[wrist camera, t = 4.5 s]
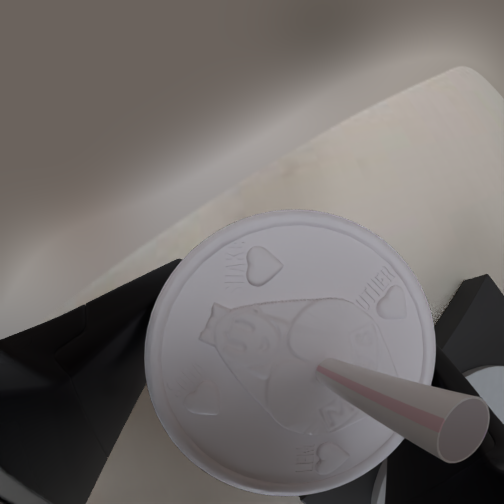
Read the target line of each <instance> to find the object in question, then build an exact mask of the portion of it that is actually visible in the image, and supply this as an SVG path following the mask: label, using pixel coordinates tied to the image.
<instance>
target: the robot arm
mask: <svg viewBox="0 0 504 504" xmlns="http://www.w3.org/2000/svg"><path fill="white" fill-rule="evenodd" d="M181 261H182V259H176V260H174V261H172V262H170V263H168V264H166V265H164V266H162V267H160V268H157V269H155V270H153V271H151V272H149V273H147V274H145V275H143V276H141V277H139V278H137V279H135V280H133V281H131V282H129V283H126V284H124V285H122V286H120V287H118V288H116V289H114V290H112V291H110V292H108V293H106V294H104V295H102V296H100V297H98V298H96V299H94V300H92V301H90V302H88V303H86V305H82V306H80V307H78V308H76V309H74V310H72V311H70V312H67V313H65V314H63V315H61V316H59V317H57V318H54V319H52V320H50V321H47V322H45V323H42V324H40V325H37V326H35V327H32V328H30V329H27V330H25V331H22V332H19V333H17V334H14V335H12V336H9V337H7V338H5V339H1V340H0V504H86V502H87V500H88V498H89V496H90V494H91V492H92V489H93V487H94V485H95V483H96V481H97V479H98V477H99V475H100V473H101V471H102V469H103V467H104V465H105V463H106V461H107V457H109V455H110V453H111V451H112V449H113V447H114V445H115V443H116V441H117V439H118V437H119V435H120V433H121V431H122V429H123V427H124V425H125V423H126V421H127V419H128V417H129V415H130V413H131V411H132V409H133V408H134V406H135V404H136V402H137V400H138V398H139V396H140V394H141V392H142V390H143V388H144V386H145V385H146V383H147V381H146V375H145V361H144V354H145V340H146V334H147V328H148V324H149V320H150V317H151V313H152V310H153V308H154V305H155V303H156V300H157V298H158V296H159V294H160V292H161V290H162V288H163V286H164V284H165V283H166V281H167V280H168V278H169V277H170V275H171V273H172V272H173V271H174V270H175V268H176V267H177V266H178V264H179V263H180V262H181ZM431 386H433V387H437V388H441V389H446V390H450V391H454V392H458V393H463V394H467V395H472V396H477V397H480V395H479V394H478V392H477V391H476V390H475V389H474V387H473V386H472V385H471V384H470V383H469V381H468V380H467V379H466V378H465V377H464V375H463V374H462V373H461V372H460V371H459V369H458V368H457V367H456V366H455V365H454V363H453V362H452V361H451V360H450V359H449V358H448V356H447V355H446V354H445V353H444V352H443V351H442V349H441V348H440V347H439V346H438V345H437V344H436V356H435V367H434V374H433V379H432V383H431ZM480 398H482V397H480ZM482 399H483V398H482ZM488 408H489V414H490V420H489V426H488V430H487V433H486V435H485V437H484V439H483V441H482V443H481V444H480V446H479V447H478V448H477V449H476V451H475V452H474V453H473V454H472V455H470V456H469V457H468V458H466V459H465V460H463V461H461V462H457V463H447V462H445V461H443V460H441V459H439V458H438V457H436V456H434V455H433V454H431V453H429V452H427V451H426V450H424V449H422V448H421V447H419V446H417V445H416V444H414V443H412V442H411V441H409V440H407V439H406V438H404V439H403V441H402V442H401V443H400V444H399V445H398V447H397V448H396V449H395V450H394V451H393V452H392V453H391V454H390V455H389V456H388V457H387V473H386V492H385V504H504V424H503V423H502V422H501V421H500V419H499V418H498V417H497V416H496V415H495V413H494V412H493V411H492V410H491V409H490V407H489V406H488Z"/></svg>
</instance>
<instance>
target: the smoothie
mask: <svg viewBox="0 0 504 504" xmlns="http://www.w3.org/2000/svg"><path fill="white" fill-rule="evenodd" d="M435 356H436V341H435V330H434V323H433V319H432V314H431V310H430V307H429V304H428V301H427V298H426V296H425V293H424V291H423V289H422V287H421V285H420V283H419V281H418V279H417V278H416V276H415V274H414V273H413V271H412V270H411V268H410V267H409V266H408V264H407V263H406V262H405V260H404V259H403V258H402V257H401V256H400V255H399V254H398V252H397V251H395V250H394V249H393V248H392V247H391V246H390V245H389V244H388V243H387V242H386V241H384V240H383V239H382V238H380V237H379V236H378V235H376V234H375V233H373V232H372V231H370V230H369V229H367V228H365V227H363V226H361V225H359V224H357V223H355V222H353V221H351V220H348V219H346V218H343V217H340V216H337V215H333V214H330V213H325V212H320V211H314V210H302V209H289V210H277V211H270V212H265V213H260V214H256V215H253V216H250V217H247V218H244V219H241V220H239V221H236V222H234V223H232V224H229V225H227V226H226V227H224V228H222V229H220V230H218V231H217V232H215V233H213V234H212V235H211V236H209V237H208V238H206V239H205V240H203V241H202V242H201V243H200V244H199V245H197V246H196V247H195V248H194V249H193V250H191V251H190V253H189V254H188V255H187V256H186V257H185V258H184V259H183V260H182V261H181V262H180V263H179V264H178V266H177V267H176V268H175V270H174V271H173V272H172V273H171V275H170V277H169V278H168V280H167V281H166V283H165V284H164V286H163V288H162V290H161V292H160V294H159V296H158V298H157V300H156V303H155V305H154V308H153V310H152V313H151V317H150V320H149V324H148V328H147V334H146V340H145V354H144V361H145V375H146V381H147V387H148V391H149V395H150V398H151V402H152V404H153V407H154V409H155V412H156V414H157V416H158V418H159V420H160V422H161V424H162V426H163V428H164V429H165V431H166V433H167V434H168V436H169V437H170V439H171V440H172V441H173V442H174V444H175V445H176V446H177V447H178V448H179V450H180V451H181V452H182V453H183V454H184V455H185V456H186V457H187V458H188V459H189V460H190V461H191V462H193V463H194V464H195V465H196V466H198V467H199V468H200V469H202V470H203V471H204V472H206V473H208V474H209V475H211V476H212V477H214V478H216V479H218V480H220V481H222V482H224V483H226V484H228V485H230V486H233V487H236V488H238V489H241V490H245V491H248V492H252V493H257V494H263V495H269V496H301V495H309V494H314V493H319V492H323V491H327V490H330V489H333V488H336V487H339V486H341V485H344V484H346V483H348V482H351V481H353V480H355V479H356V478H358V477H360V476H362V475H364V474H365V473H367V472H368V471H370V470H371V469H373V468H374V467H376V466H377V465H378V464H379V463H381V462H382V461H383V460H384V459H385V458H387V457H388V456H389V455H390V454H391V453H392V452H393V451H394V450H395V449H396V448H397V447H398V445H399V444H400V443H401V442H402V441H403V439H404V438H406V439H407V440H409V441H411V442H412V443H414V444H416V445H417V446H419V447H421V448H422V449H424V450H426V451H427V452H429V453H431V454H433V455H434V456H436V457H438V458H439V459H441V460H443V461H445V462H447V463H457V462H461V461H463V460H465V459H466V458H468V457H469V456H470V455H472V454H473V453H474V452H475V451H476V449H477V448H478V447H479V446H480V444H481V443H482V441H483V439H484V437H485V435H486V433H487V430H488V426H489V420H490V414H489V408H488V405H487V404H486V402H485V401H484V400H483V399H482V398H480V397H477V396H472V395H467V394H463V393H458V392H454V391H450V390H446V389H441V388H437V387H433V386H431V383H432V379H433V374H434V367H435Z"/></svg>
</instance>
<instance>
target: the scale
mask: <svg viewBox="0 0 504 504" xmlns="http://www.w3.org/2000/svg"><path fill="white" fill-rule="evenodd" d="M434 330H435V341H436V344H437V345H438V346H439V347H440V348H441V349H442V351H443V352H444V353H445V354H446V355H447V356H448V358H449V359H450V360H451V361H452V362H453V363H454V365H455V366H456V367H457V368H458V369H459V371H460V372H461V373H462V374H463V375H464V377H465V378H466V379H467V380H468V381H469V383H470V384H471V385H472V386H473V387H474V389H475V390H476V391H477V392H478V394H479V395H480V397H482V398H483V400H484V401H485V402H486V404H487V405H488V406H489V407H490V409H491V410H492V411H493V412H494V413H495V415H496V416H497V417H498V418H499V419H500V421H501V422H502V423H503V424H504V295H503V294H502V293H501V291H500V290H499V288H498V287H497V286H496V284H495V283H494V282H493V280H492V279H491V278H490V276H489V275H488V274H485V275H482V276H479V277H475V278H472V279H468V280H465V281H463V283H462V285H461V286H460V288H459V289H458V291H457V293H456V294H455V296H454V298H453V299H452V301H451V302H450V304H449V305H448V307H447V308H446V310H445V312H444V313H443V315H442V316H441V318H440V319H439V320H438V322H437V323H436V325H435V326H434ZM386 473H387V458H385V459H384V460H383V461H382V462H381V463H379V464H378V465H377V466H376V467H374V468H373V469H371V470H370V471H368V472H367V473H365V474H364V475H362V476H360V477H358V478H356V479H355V480H353V481H351V482H348V483H346V484H344V485H341V486H339V487H336V488H333V489H330V490H327V491H323V492H319V493H314V494H309V495H301V496H299V497H300V500H301V501H302V502H303V503H305V504H385V492H386Z"/></svg>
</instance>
